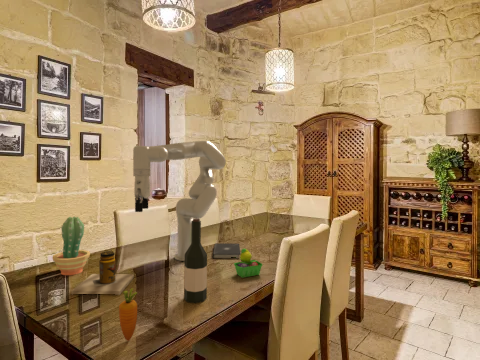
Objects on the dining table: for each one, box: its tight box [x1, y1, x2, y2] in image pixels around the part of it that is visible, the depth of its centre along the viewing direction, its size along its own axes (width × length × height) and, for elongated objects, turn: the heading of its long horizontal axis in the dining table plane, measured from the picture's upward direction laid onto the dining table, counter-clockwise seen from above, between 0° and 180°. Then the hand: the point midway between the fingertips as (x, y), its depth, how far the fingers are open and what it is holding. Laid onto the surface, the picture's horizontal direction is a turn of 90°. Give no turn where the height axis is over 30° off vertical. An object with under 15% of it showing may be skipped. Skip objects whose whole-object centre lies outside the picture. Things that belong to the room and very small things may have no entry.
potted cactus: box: [51, 216, 91, 276], centre depth 143 cm, size 15×15×25 cm
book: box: [212, 242, 241, 259], centre depth 178 cm, size 22×15×3 cm
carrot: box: [118, 287, 138, 342], centre depth 89 cm, size 5×5×15 cm
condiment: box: [92, 250, 118, 287], centre depth 128 cm, size 7×8×12 cm
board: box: [70, 273, 135, 296], centre depth 128 cm, size 18×18×2 cm
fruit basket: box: [233, 248, 263, 278], centre depth 144 cm, size 11×9×11 cm
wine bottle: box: [183, 218, 208, 304], centre depth 117 cm, size 8×8×30 cm
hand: (141, 210), depth 145 cm, fingers open, 9 cm apart
